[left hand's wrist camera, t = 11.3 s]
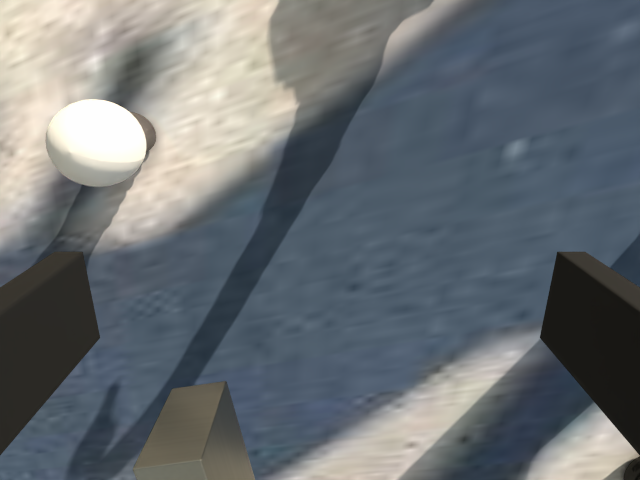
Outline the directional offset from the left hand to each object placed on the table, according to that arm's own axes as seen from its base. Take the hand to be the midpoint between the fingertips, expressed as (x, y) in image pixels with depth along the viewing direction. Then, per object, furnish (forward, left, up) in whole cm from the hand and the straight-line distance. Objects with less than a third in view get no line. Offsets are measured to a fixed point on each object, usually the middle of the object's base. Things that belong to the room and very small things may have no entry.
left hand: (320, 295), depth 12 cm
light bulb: (+17, -5, -31) cm, 36 cm away
